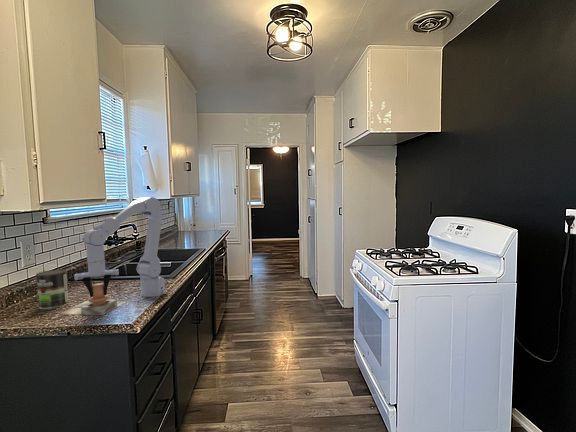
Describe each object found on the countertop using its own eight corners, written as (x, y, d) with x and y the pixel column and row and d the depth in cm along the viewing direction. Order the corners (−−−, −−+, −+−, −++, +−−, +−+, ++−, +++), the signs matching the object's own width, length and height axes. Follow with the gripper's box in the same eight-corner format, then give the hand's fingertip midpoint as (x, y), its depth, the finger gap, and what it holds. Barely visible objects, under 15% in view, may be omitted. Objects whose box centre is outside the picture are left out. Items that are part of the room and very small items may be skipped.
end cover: (113, 302, 127) (111, 282, 126) (101, 309, 120) (100, 287, 120) (97, 302, 128) (96, 282, 127) (85, 309, 121) (83, 287, 120)
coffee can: (56, 309, 129) (53, 275, 128) (32, 309, 129) (29, 275, 128) (74, 300, 139) (72, 268, 138) (52, 300, 140) (49, 269, 138)
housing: (126, 304, 133) (125, 295, 132) (103, 317, 119) (102, 308, 118) (86, 303, 135) (85, 295, 134) (59, 316, 121) (58, 307, 120)
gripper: (117, 256, 129) (120, 289, 130) (75, 261, 123) (78, 295, 124) (117, 260, 123) (119, 294, 124) (72, 264, 117) (75, 300, 118)
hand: (98, 295), depth 124 cm, fingers closed on end cover, 4 cm apart
